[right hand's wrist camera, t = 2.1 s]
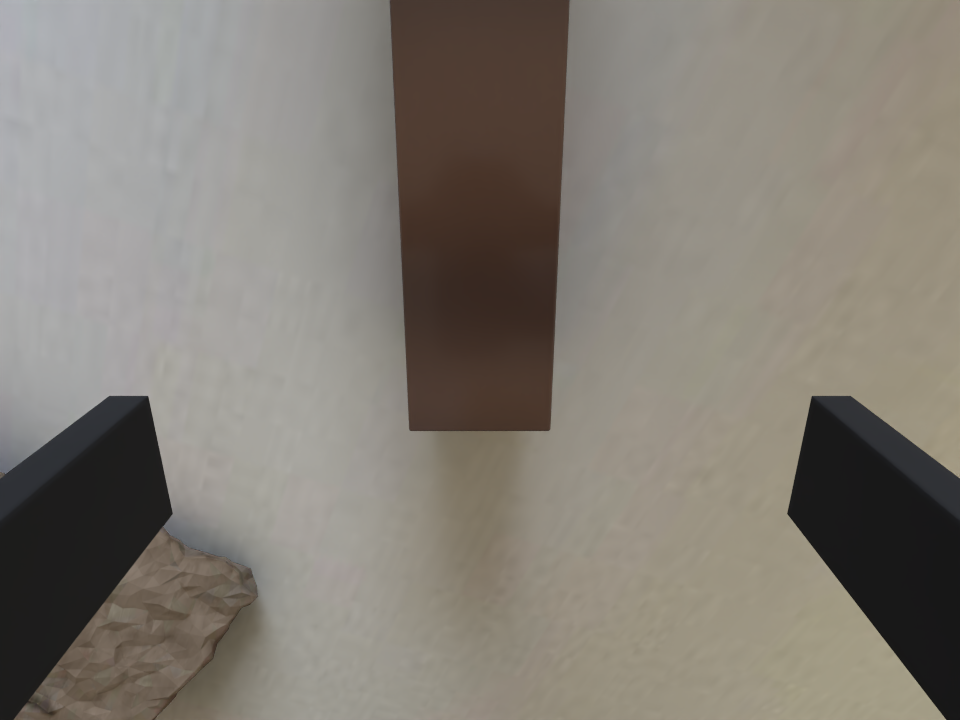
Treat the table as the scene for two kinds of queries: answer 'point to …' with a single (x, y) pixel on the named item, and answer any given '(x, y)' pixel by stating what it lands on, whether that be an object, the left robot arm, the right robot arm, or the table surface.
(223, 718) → the table surface
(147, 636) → the stone
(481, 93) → the walnut beam
